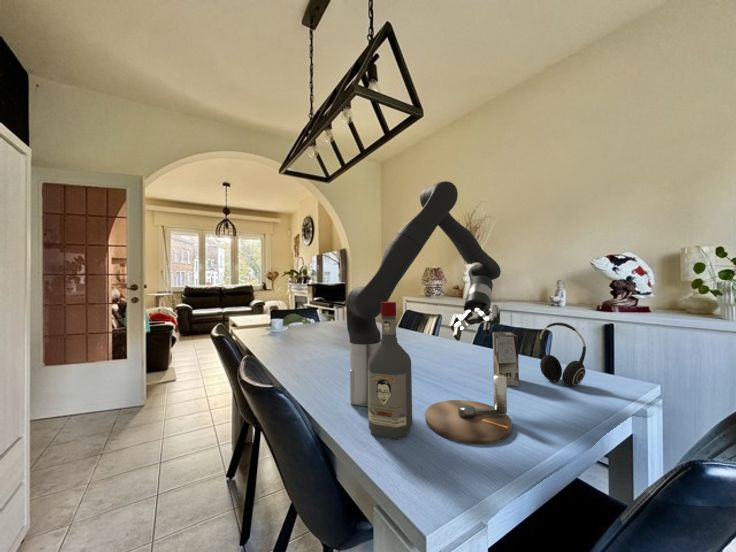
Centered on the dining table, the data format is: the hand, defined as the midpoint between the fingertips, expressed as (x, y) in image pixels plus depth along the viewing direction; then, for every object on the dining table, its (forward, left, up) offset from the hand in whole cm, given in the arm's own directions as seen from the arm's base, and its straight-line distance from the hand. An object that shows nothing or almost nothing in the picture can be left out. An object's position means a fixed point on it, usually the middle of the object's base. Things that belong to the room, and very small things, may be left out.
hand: (471, 336), depth 86 cm
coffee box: (+19, +19, -19) cm, 33 cm away
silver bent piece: (-1, -9, -17) cm, 20 cm away
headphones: (+36, +15, -19) cm, 44 cm away
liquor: (-24, -11, -19) cm, 33 cm away
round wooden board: (-5, -9, -19) cm, 22 cm away
